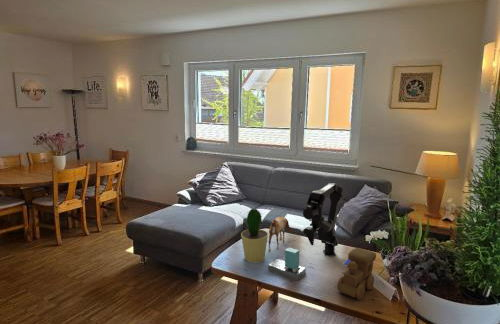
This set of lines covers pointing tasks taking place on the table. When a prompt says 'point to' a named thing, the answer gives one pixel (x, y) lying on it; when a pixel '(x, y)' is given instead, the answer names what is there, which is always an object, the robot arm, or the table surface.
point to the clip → (292, 259)
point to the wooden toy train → (358, 273)
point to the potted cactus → (254, 238)
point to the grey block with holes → (279, 268)
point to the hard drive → (346, 262)
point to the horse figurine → (278, 229)
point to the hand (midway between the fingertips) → (316, 242)
